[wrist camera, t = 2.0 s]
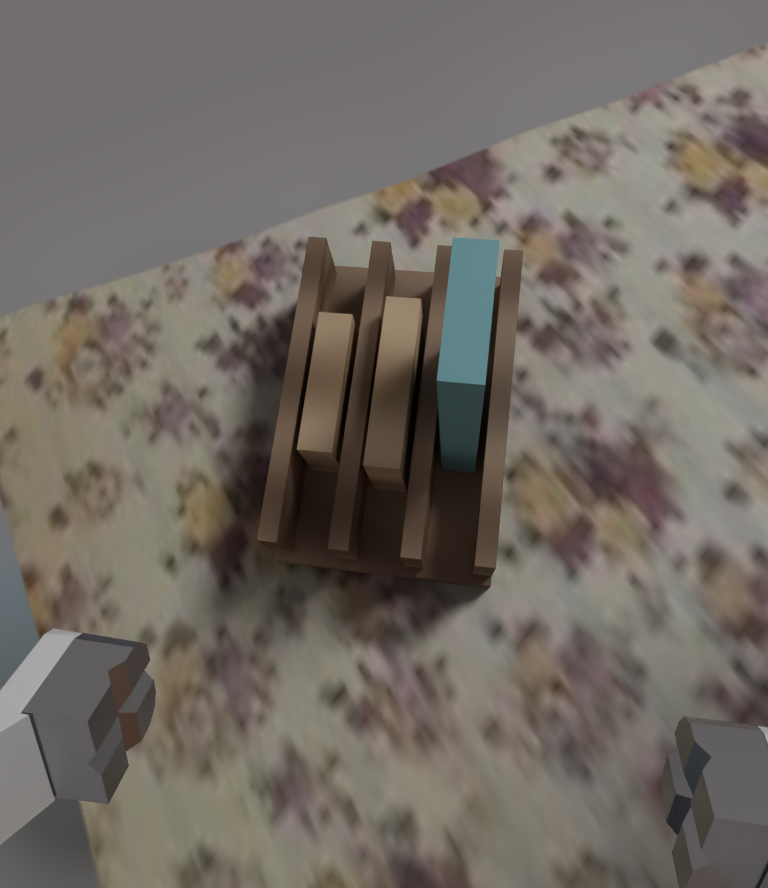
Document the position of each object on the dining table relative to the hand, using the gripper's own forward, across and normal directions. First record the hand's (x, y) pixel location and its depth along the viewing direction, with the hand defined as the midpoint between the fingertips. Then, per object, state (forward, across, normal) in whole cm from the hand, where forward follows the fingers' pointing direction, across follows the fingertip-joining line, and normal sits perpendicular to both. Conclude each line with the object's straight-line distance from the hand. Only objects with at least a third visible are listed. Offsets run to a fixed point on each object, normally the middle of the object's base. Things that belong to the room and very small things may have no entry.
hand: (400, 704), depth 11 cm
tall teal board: (+29, 0, +10) cm, 31 cm away
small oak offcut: (+29, +7, +10) cm, 32 cm away
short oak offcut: (+29, +4, +10) cm, 31 cm away
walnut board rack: (+30, +3, +11) cm, 32 cm away
